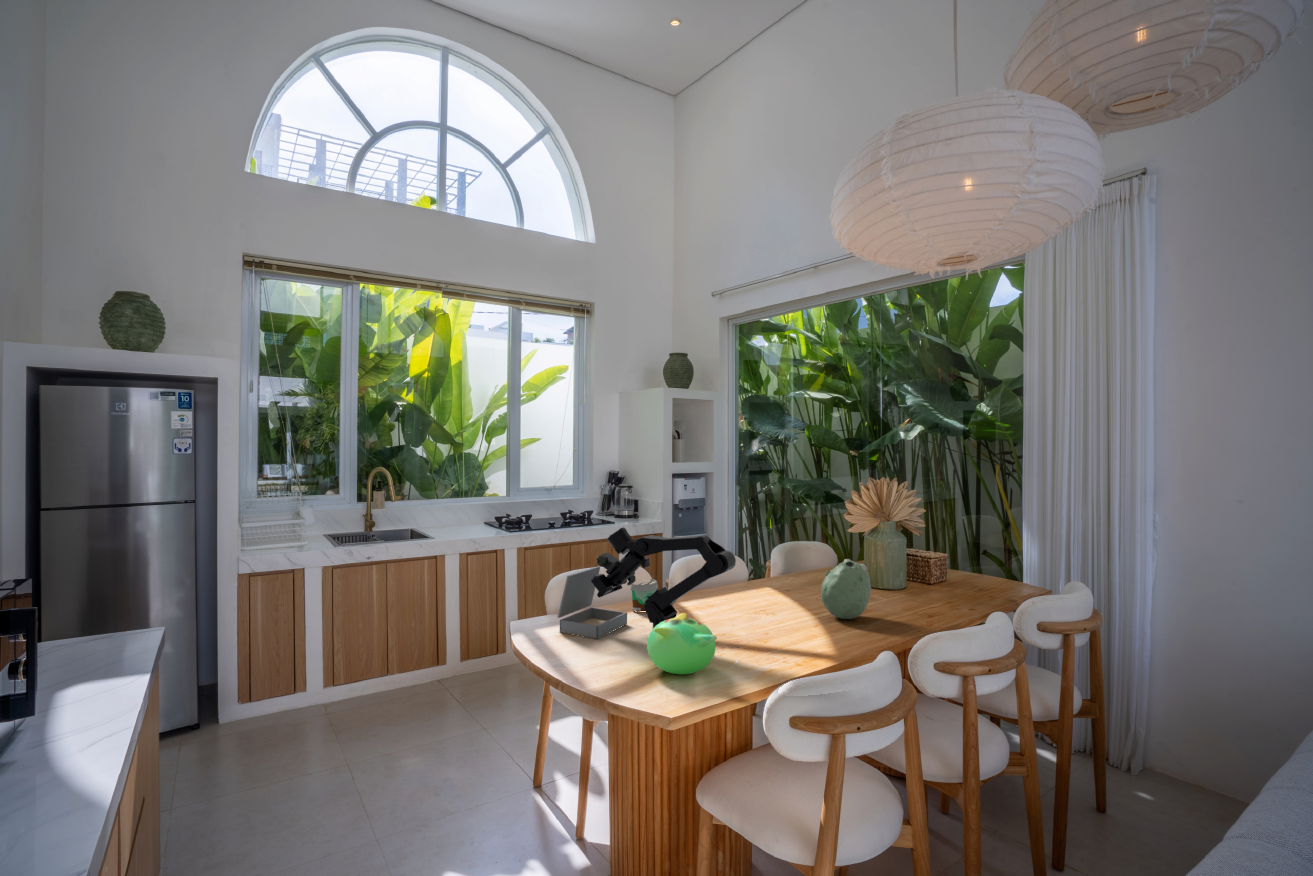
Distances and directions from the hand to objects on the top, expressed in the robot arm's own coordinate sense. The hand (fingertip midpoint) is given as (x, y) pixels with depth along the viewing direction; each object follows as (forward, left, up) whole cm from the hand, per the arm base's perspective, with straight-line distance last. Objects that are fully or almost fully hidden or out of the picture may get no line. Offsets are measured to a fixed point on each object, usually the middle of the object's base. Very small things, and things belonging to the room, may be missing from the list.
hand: (598, 596), depth 204 cm
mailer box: (+1, +1, -11) cm, 11 cm away
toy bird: (-45, -2, -11) cm, 47 cm away
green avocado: (-31, -80, -11) cm, 86 cm away
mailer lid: (+6, +3, +1) cm, 7 cm away
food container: (+12, -26, -11) cm, 30 cm away
